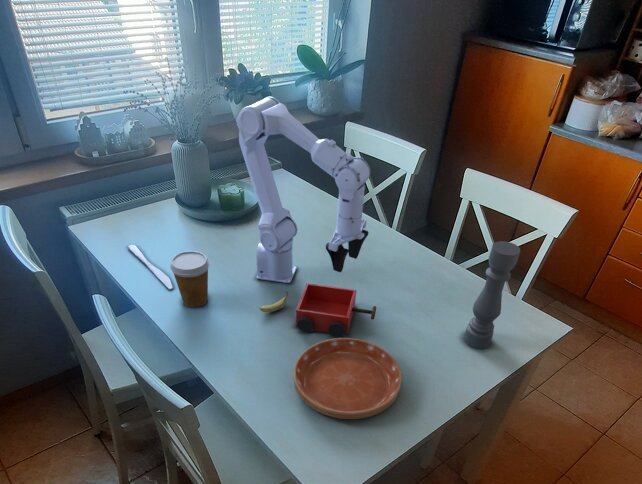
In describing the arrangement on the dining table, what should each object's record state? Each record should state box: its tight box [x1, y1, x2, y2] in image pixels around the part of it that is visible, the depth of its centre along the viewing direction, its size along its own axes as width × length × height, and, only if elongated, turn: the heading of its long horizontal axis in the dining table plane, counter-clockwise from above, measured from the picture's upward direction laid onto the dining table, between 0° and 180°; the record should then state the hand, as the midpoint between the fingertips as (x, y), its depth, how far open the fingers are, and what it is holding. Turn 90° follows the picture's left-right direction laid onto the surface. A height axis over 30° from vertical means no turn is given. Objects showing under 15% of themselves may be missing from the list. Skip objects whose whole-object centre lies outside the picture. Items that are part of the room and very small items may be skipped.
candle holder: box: [463, 240, 521, 350], centre depth 115 cm, size 6×6×25 cm
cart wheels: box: [296, 305, 377, 338], centre depth 127 cm, size 18×14×4 cm
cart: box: [295, 282, 357, 336], centre depth 127 cm, size 13×12×5 cm
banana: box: [259, 291, 289, 313], centre depth 129 cm, size 8×2×4 cm, turn 125°
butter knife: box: [128, 244, 174, 290], centre depth 144 cm, size 1×27×3 cm
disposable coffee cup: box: [169, 250, 210, 308], centre depth 129 cm, size 10×10×12 cm
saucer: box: [293, 337, 403, 420], centre depth 110 cm, size 23×23×4 cm
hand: (345, 263), depth 129 cm, fingers open, 7 cm apart
